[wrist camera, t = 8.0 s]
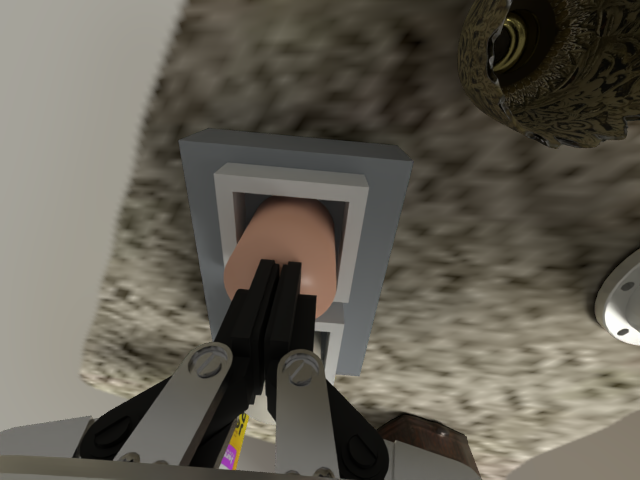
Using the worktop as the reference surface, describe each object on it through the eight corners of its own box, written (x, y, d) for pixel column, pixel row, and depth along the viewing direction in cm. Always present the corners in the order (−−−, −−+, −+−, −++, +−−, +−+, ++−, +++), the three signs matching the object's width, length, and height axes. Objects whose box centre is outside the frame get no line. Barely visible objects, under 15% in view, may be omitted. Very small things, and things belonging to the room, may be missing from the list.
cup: (556, 103, 16) (727, 120, 9) (427, 135, 17) (492, 171, 10) (584, -75, 12) (901, -266, 6) (418, -20, 14) (511, -124, 7)
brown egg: (339, 195, 15) (343, 243, 11) (330, 267, 17) (330, 330, 13) (250, 187, 15) (217, 232, 10) (253, 261, 17) (228, 321, 13)
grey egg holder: (397, 145, 18) (425, 172, 12) (355, 337, 27) (361, 400, 21) (208, 128, 17) (156, 148, 12) (231, 327, 26) (207, 388, 21)
